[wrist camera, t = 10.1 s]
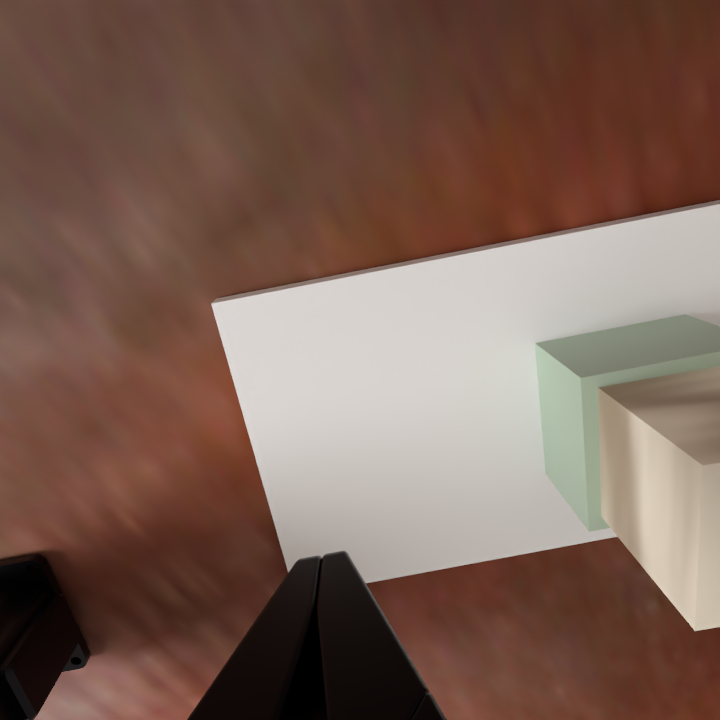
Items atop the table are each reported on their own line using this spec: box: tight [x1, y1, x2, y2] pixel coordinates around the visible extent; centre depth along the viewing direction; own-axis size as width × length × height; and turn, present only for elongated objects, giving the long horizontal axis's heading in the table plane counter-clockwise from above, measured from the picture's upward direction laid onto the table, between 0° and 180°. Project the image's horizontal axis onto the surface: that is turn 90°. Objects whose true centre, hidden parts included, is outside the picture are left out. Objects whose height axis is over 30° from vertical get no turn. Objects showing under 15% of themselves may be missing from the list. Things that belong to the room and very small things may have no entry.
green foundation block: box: [535, 314, 720, 532], centre depth 19 cm, size 6×6×4 cm
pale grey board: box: [211, 200, 720, 583], centre depth 22 cm, size 20×14×1 cm
